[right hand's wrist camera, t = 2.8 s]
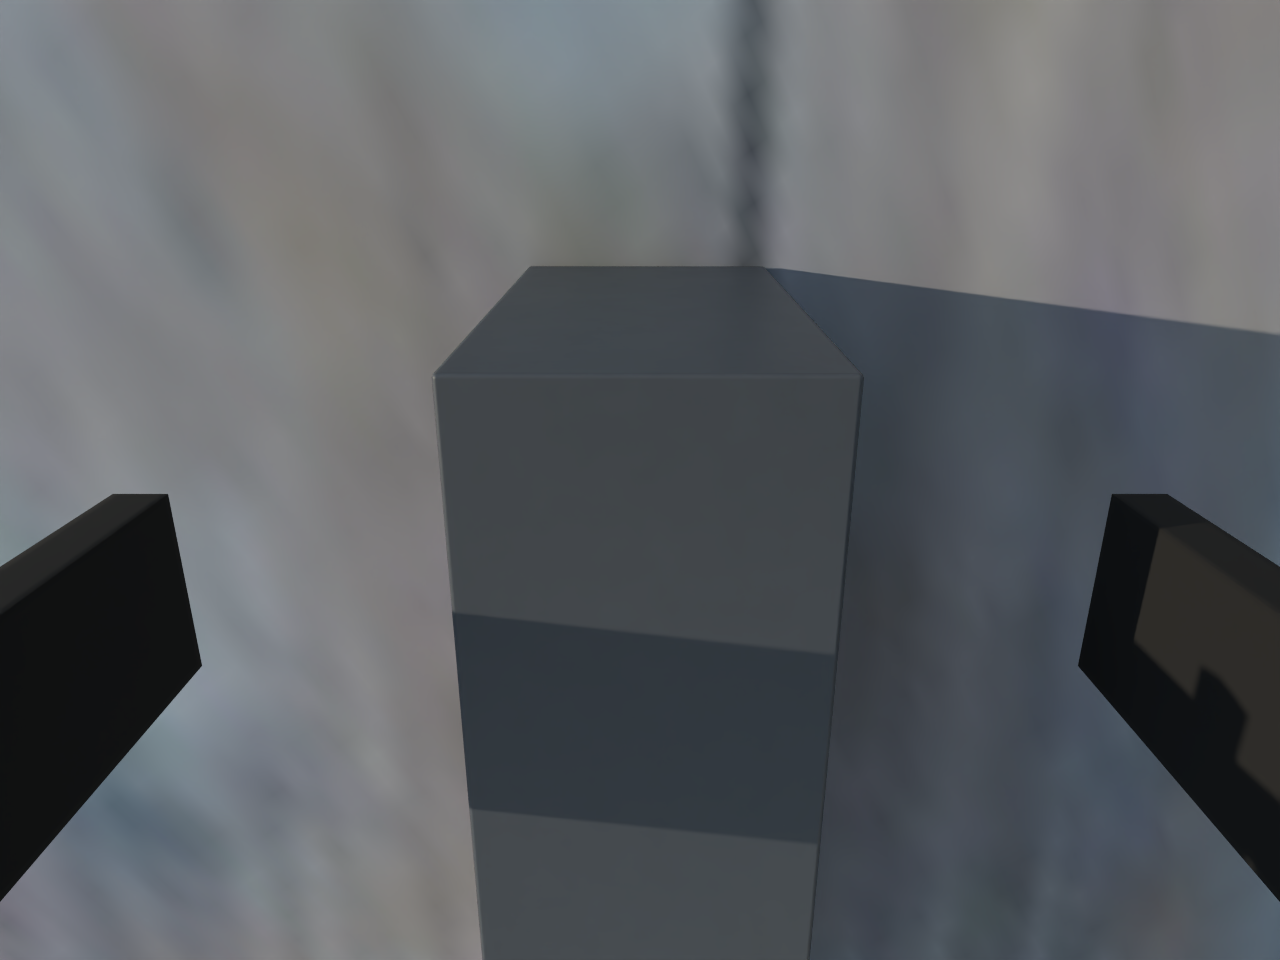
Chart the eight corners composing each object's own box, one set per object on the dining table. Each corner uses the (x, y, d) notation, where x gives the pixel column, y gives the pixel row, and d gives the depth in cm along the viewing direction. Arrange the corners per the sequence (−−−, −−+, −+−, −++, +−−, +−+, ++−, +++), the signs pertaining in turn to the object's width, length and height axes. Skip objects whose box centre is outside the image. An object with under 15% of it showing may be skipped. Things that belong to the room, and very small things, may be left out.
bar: (528, 266, 17) (429, 374, 9) (765, 266, 17) (865, 373, 9) (566, 1132, 25) (533, 1554, 18) (721, 1132, 25) (753, 1557, 18)
